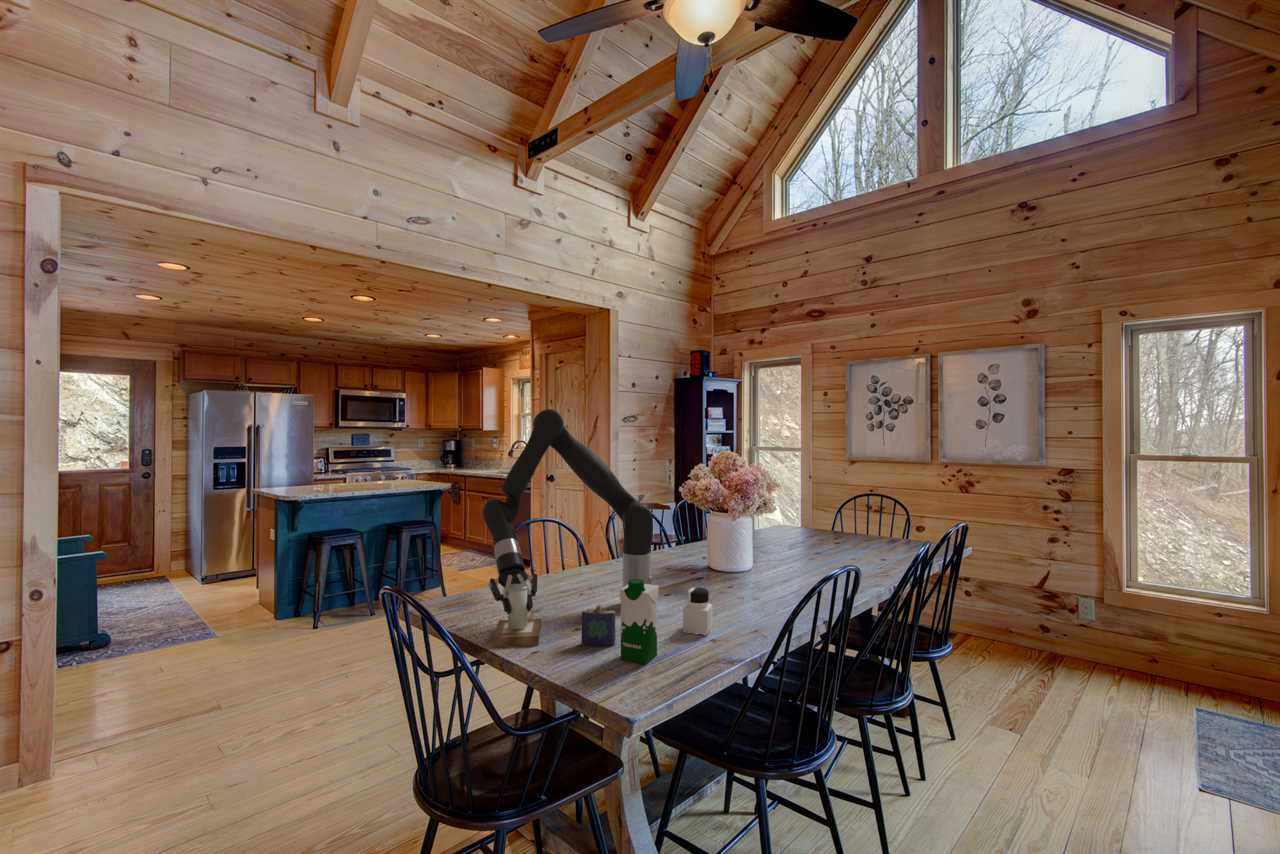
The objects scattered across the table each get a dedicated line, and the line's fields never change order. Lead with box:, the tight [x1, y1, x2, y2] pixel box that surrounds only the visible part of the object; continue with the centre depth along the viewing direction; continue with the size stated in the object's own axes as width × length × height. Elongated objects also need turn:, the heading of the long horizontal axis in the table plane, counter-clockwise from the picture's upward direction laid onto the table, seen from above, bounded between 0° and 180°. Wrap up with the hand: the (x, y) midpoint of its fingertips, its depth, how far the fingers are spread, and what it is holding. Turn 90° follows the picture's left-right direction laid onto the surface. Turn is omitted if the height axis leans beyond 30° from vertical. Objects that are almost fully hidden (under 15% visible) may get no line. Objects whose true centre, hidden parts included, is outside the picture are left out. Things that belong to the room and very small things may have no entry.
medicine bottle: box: [682, 586, 714, 636], centre depth 170 cm, size 7×7×12 cm
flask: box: [580, 604, 617, 647], centre depth 159 cm, size 9×3×11 cm, turn 88°
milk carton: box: [619, 579, 660, 666], centre depth 150 cm, size 9×9×20 cm
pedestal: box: [492, 618, 542, 647], centre depth 165 cm, size 12×14×3 cm
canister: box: [507, 583, 529, 629], centre depth 164 cm, size 5×5×11 cm
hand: (519, 610), depth 162 cm, fingers closed on canister, 5 cm apart
